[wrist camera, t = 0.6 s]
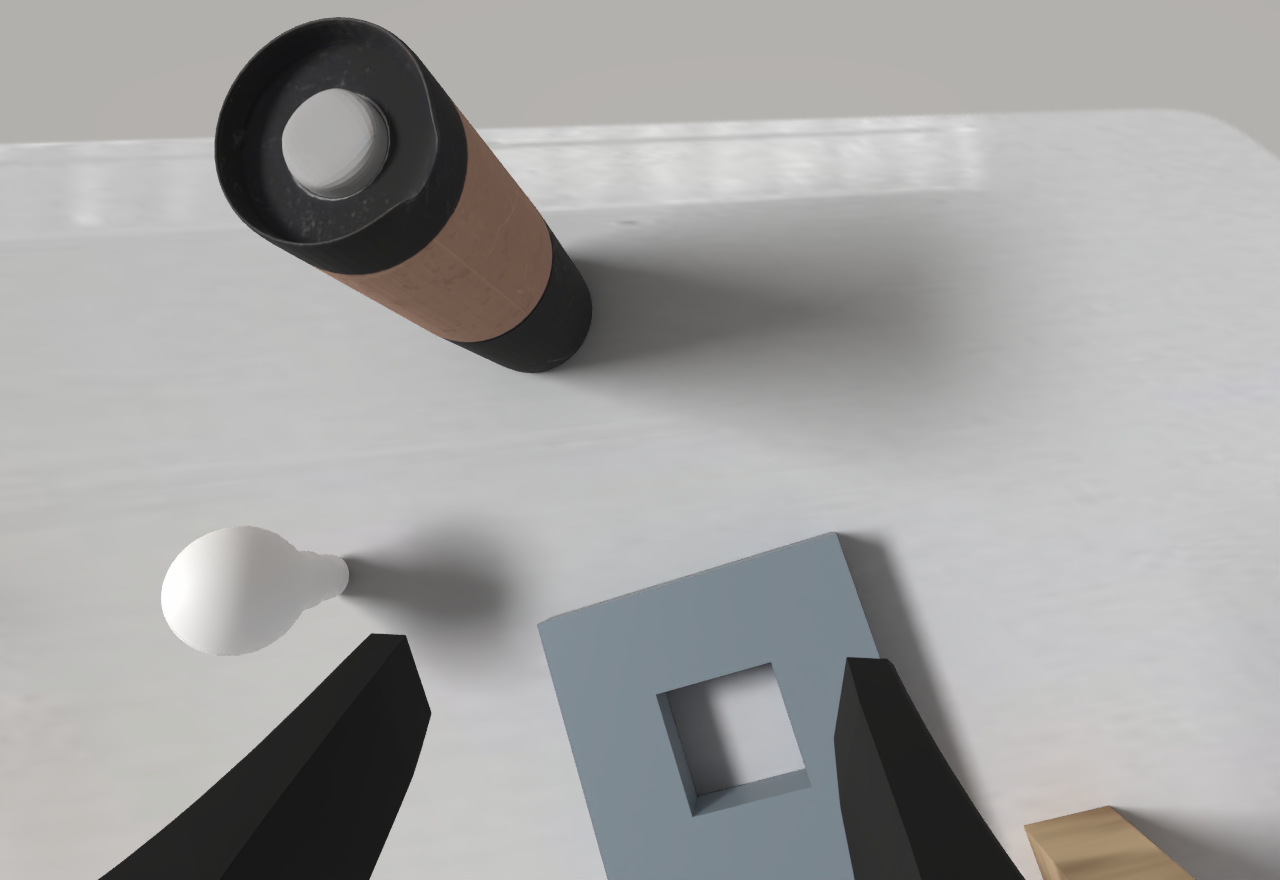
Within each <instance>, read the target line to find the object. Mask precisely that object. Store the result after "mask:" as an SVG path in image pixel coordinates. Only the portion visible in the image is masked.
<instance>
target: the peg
mask: <svg viewBox="0 0 1280 880" xmlns="http://www.w3.org/2000/svg"><path fill="white" fill-rule="evenodd" d="M1024 828H1025V831H1026V833H1027V836H1028V839H1029V842H1030V844H1031V847H1032V850H1033V852H1034V855H1035V858H1036V860H1037V863H1038V866H1039V869H1040V871H1041V874H1042V877H1043V879H1044V880H1195V879H1194V878H1193V877H1192V876H1191V875H1190V874H1188V873H1187V872H1186V871H1185V870H1184V869H1183V868H1181V867H1180V866H1179V865H1178V864H1177V863H1176V862H1174V861H1173V860H1172V859H1171V858H1170V857H1169V856H1167V855H1166V854H1165V853H1164V852H1163V851H1162V850H1160V849H1159V848H1158V847H1157V846H1156V845H1154V844H1153V843H1152V842H1151V841H1150V840H1149V839H1147V838H1146V837H1145V836H1144V835H1143V834H1142V833H1140V832H1139V831H1138V830H1137V829H1136V828H1135V827H1133V826H1132V825H1131V824H1130V823H1129V822H1128V821H1126V820H1125V819H1124V818H1123V817H1122V816H1121V815H1119V814H1118V813H1117V812H1116V811H1115V810H1114V809H1112V808H1111V807H1110V806H1105V807H1101V808H1097V809H1092V810H1088V811H1084V812H1080V813H1075V814H1071V815H1067V816H1063V817H1058V818H1054V819H1050V820H1046V821H1041V822H1037V823H1033V824H1029V825H1024Z"/></svg>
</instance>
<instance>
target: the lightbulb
mask: <svg viewBox="0 0 1280 880" xmlns="http://www.w3.org/2000/svg"><path fill="white" fill-rule="evenodd" d="M348 581H349V570H348V567H347V565H346V563H345V562H344V560H343V559H341V558H340V557H338V556H336V555H328V554H317V553H315V552H311V551H298V550H297V549H296V548H295V547H294V546H293V545H292V544H290V543H289V542H288V541H287V540H285V539H284V538H282V537H281V536H280V535H278V534H276V533H274V532H271V531H269V530H265V529H262V528H258V527H252V526H234V527H227V528H224V529H220V530H216V531H213V532H210V533H208V534H206V535H204V536H202V537H201V538H199V539H197V540H195V541H193V542H192V543H191V544H190V545H188V546H187V547H186V548H185V549H184V550H183V551H182V552H181V553H180V554H179V555H178V557H177V558H176V559H175V560H174V561H173V563H172V565H171V566H170V568H169V570H168V572H167V575H166V577H165V580H164V583H163V587H162V595H161V602H162V610H163V613H164V616H165V619H166V621H167V622H168V624H169V626H170V628H171V629H172V631H173V632H174V633H175V634H176V636H177V637H178V638H180V639H181V640H182V641H183V642H185V643H186V644H187V645H189V646H190V647H192V648H194V649H196V650H198V651H200V652H205V653H209V654H213V655H218V656H238V655H243V654H247V653H251V652H254V651H258V650H260V649H262V648H264V647H266V646H268V645H270V644H271V643H273V642H275V641H276V640H278V639H279V638H280V637H281V636H283V635H284V634H285V633H286V632H287V631H288V630H289V629H290V628H291V626H292V625H293V624H294V623H295V622H296V620H297V619H298V618H299V616H300V615H301V613H302V611H304V610H306V609H309V608H312V607H314V606H316V605H318V604H319V603H321V602H322V601H324V600H327V599H330V598H333V597H336V596H338V595H339V594H341V593H342V592H343V591H344V590H345V588H346V586H347V584H348Z"/></svg>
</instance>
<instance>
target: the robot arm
mask: <svg viewBox="0 0 1280 880" xmlns="http://www.w3.org/2000/svg"><path fill="white" fill-rule="evenodd" d="M430 717H431V710H430V707H429V704H428V701H427V698H426V695H425V692H424V689H423V686H422V683H421V680H420V677H419V674H418V671H417V668H416V665H415V662H414V659H413V656H412V653H411V650H410V647H409V644H408V641H407V638H406V635H393V634H373V633H371V634H370V635H369V636H368V637H367V638H366V639H365V640H364V641H363V642H362V643H361V644H360V645H359V646H358V647H357V648H356V649H355V650H354V651H353V652H352V653H351V654H350V655H349V656H348V657H347V658H346V659H345V660H344V661H343V662H342V663H341V664H340V665H339V666H338V667H337V668H336V669H335V670H334V671H333V672H332V673H331V674H330V675H329V676H328V677H327V678H326V679H325V680H324V681H323V682H322V683H321V684H320V685H319V686H318V687H317V688H316V689H315V690H314V691H313V692H312V693H311V694H310V695H309V696H308V697H307V698H306V699H305V700H304V701H303V702H302V703H301V704H300V705H299V706H298V707H297V708H296V709H295V710H294V711H293V712H292V713H291V714H290V715H289V716H287V717H286V718H285V719H284V720H283V721H282V722H281V723H280V724H279V725H278V726H277V727H276V728H275V729H274V730H273V731H272V732H271V733H270V734H269V735H268V736H267V737H266V738H265V739H264V740H263V741H262V742H261V743H260V744H258V745H257V746H256V747H255V748H254V749H253V750H252V751H251V752H250V753H249V754H248V755H247V756H246V757H245V758H243V759H242V760H241V761H240V762H239V763H238V764H237V765H236V766H235V767H233V768H232V769H231V770H230V771H229V772H228V773H227V774H226V775H225V776H223V777H222V778H221V779H220V780H219V781H218V782H217V783H216V784H215V785H213V786H212V787H211V788H210V789H209V790H208V791H207V792H206V793H205V794H203V795H202V796H201V797H200V798H199V799H198V800H197V801H196V802H194V803H193V804H192V805H191V806H190V807H189V808H187V809H186V810H185V811H184V812H183V813H181V814H180V815H179V816H178V817H177V818H176V819H174V820H173V821H172V822H171V823H170V824H168V825H167V826H166V827H165V828H164V829H162V830H161V831H160V832H159V833H157V834H156V835H155V836H154V837H152V838H151V839H150V840H149V841H147V842H146V843H145V844H144V845H142V846H141V847H140V848H139V849H137V850H136V851H135V852H134V853H132V854H131V855H130V856H129V857H127V858H126V859H125V860H124V861H122V862H121V863H120V864H118V865H117V866H116V867H114V868H113V869H112V870H110V871H109V872H108V873H107V874H105V875H104V876H102V877H101V878H100V879H98V880H369V879H370V877H371V874H372V872H373V870H374V867H375V865H376V863H377V860H378V858H379V856H380V853H381V851H382V849H383V846H384V844H385V842H386V839H387V837H388V835H389V832H390V830H391V828H392V825H393V823H394V821H395V818H396V816H397V813H398V811H399V809H400V806H401V804H402V801H403V799H404V797H405V794H406V792H407V789H408V787H409V785H410V782H411V780H412V777H413V775H414V771H415V768H416V765H417V762H418V758H419V755H420V752H421V749H422V745H423V742H424V738H425V735H426V731H427V727H428V724H429V720H430ZM834 748H835V759H836V770H837V780H838V790H839V800H840V808H841V813H842V819H843V824H844V829H845V834H846V839H847V844H848V849H849V854H850V859H851V864H852V869H853V874H854V879H855V880H1025V879H1024V877H1023V876H1022V874H1021V873H1020V872H1019V870H1018V869H1017V867H1016V866H1015V864H1014V863H1013V862H1012V860H1011V859H1010V857H1009V856H1008V854H1007V853H1006V852H1005V850H1004V849H1003V847H1002V846H1001V844H1000V843H999V842H998V840H997V839H996V837H995V836H994V834H993V833H992V831H991V830H990V828H989V827H988V825H987V824H986V822H985V821H984V819H983V818H982V816H981V815H980V813H979V812H978V810H977V809H976V807H975V806H974V804H973V803H972V801H971V800H970V798H969V796H968V795H967V793H966V792H965V790H964V788H963V787H962V785H961V784H960V782H959V781H958V779H957V777H956V776H955V774H954V773H953V771H952V770H951V768H950V766H949V765H948V763H947V761H946V760H945V758H944V756H943V755H942V753H941V752H940V750H939V748H938V747H937V745H936V743H935V741H934V740H933V738H932V736H931V734H930V733H929V731H928V729H927V727H926V726H925V724H924V722H923V720H922V719H921V717H920V715H919V713H918V711H917V710H916V708H915V706H914V704H913V702H912V700H911V699H910V697H909V695H908V693H907V691H906V689H905V687H904V685H903V683H902V681H901V679H900V677H899V675H898V673H897V671H896V669H895V667H894V665H893V664H892V663H891V662H890V661H889V660H888V659H878V658H858V657H847V658H846V664H845V670H844V676H843V683H842V689H841V695H840V702H839V708H838V714H837V720H836V727H835V733H834Z"/></svg>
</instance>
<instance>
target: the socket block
mask: <svg viewBox="0 0 1280 880" xmlns="http://www.w3.org/2000/svg"><path fill="white" fill-rule="evenodd" d="M537 626H538V630H539V634H540V637H541V641H542V644H543V648H544V652H545V655H546V659H547V662H548V666H549V670H550V673H551V677H552V680H553V684H554V688H555V691H556V695H557V699H558V702H559V706H560V709H561V713H562V717H563V720H564V724H565V727H566V731H567V735H568V738H569V742H570V745H571V749H572V753H573V756H574V760H575V763H576V767H577V771H578V774H579V778H580V781H581V785H582V789H583V792H584V796H585V799H586V803H587V807H588V810H589V814H590V817H591V821H592V825H593V828H594V832H595V835H596V839H597V843H598V846H599V850H600V853H601V857H602V861H603V864H604V868H605V871H606V875H607V879H608V880H855V879H854V874H853V869H852V864H851V859H850V854H849V849H848V844H847V839H846V834H845V829H844V824H843V819H842V813H841V808H840V800H839V790H838V780H837V770H836V759H835V748H834V733H835V727H836V720H837V714H838V708H839V702H840V695H841V689H842V683H843V676H844V670H845V664H846V658H847V657H858V658H878V659H880V657H879V654H878V651H877V648H876V645H875V642H874V639H873V637H872V634H871V631H870V628H869V625H868V622H867V620H866V617H865V614H864V611H863V608H862V605H861V603H860V600H859V597H858V594H857V591H856V588H855V585H854V583H853V580H852V577H851V574H850V571H849V568H848V566H847V563H846V560H845V557H844V554H843V551H842V548H841V546H840V543H839V540H838V537H837V534H836V533H833V532H829V533H826V534H823V535H819V536H816V537H813V538H810V539H806V540H803V541H800V542H796V543H793V544H790V545H787V546H783V547H780V548H777V549H774V550H770V551H767V552H764V553H760V554H757V555H754V556H751V557H747V558H744V559H741V560H737V561H734V562H731V563H728V564H724V565H721V566H718V567H715V568H711V569H708V570H705V571H701V572H698V573H695V574H692V575H688V576H685V577H682V578H678V579H675V580H672V581H669V582H665V583H662V584H659V585H656V586H652V587H649V588H646V589H642V590H639V591H636V592H633V593H629V594H626V595H623V596H619V597H616V598H613V599H610V600H606V601H603V602H600V603H597V604H593V605H590V606H587V607H583V608H580V609H577V610H574V611H570V612H567V613H564V614H560V615H557V616H554V617H551V618H549V619H547V620H545V621H543V622H541V623H539V624H537ZM769 662H771V664H772V667H773V670H774V673H775V676H776V679H777V682H778V685H779V688H780V691H781V694H782V697H783V700H784V703H785V706H786V710H787V713H788V716H789V719H790V722H791V725H792V728H793V731H794V734H795V737H796V740H797V743H798V746H799V749H800V752H801V755H802V758H803V762H804V765H805V768H806V769H802V770H798V771H794V772H790V773H787V774H783V775H779V776H775V777H771V778H767V779H763V780H759V781H756V782H752V783H748V784H744V785H740V786H736V787H732V788H729V789H725V790H721V791H717V792H713V793H709V794H705V795H701V796H698V797H697V794H696V791H695V787H694V784H693V781H692V778H691V774H690V771H689V768H688V764H687V761H686V758H685V754H684V751H683V748H682V744H681V741H680V738H679V734H678V731H677V728H676V724H675V721H674V718H673V715H672V711H671V708H670V705H669V701H668V698H667V695H666V692H667V691H670V690H674V689H677V688H681V687H684V686H688V685H691V684H695V683H699V682H702V681H706V680H709V679H713V678H716V677H720V676H723V675H727V674H730V673H734V672H738V671H741V670H745V669H748V668H752V667H755V666H759V665H762V664H766V663H769Z"/></svg>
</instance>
